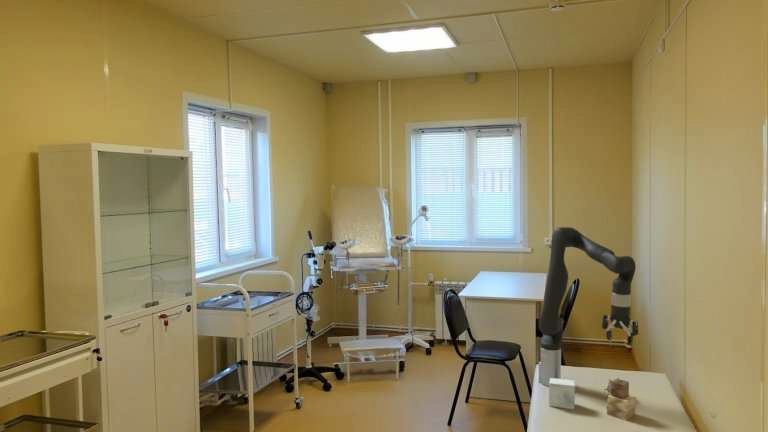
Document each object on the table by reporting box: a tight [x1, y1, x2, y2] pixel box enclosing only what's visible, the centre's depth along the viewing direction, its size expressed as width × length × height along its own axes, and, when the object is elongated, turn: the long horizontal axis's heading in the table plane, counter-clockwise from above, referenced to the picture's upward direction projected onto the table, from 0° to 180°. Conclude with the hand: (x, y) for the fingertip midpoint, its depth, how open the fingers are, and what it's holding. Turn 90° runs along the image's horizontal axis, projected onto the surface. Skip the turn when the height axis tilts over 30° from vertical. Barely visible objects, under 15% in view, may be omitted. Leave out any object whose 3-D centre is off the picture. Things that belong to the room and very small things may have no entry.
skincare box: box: [548, 378, 576, 410], centre depth 238 cm, size 10×6×10 cm, turn 70°
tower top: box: [606, 394, 637, 411], centre depth 227 cm, size 8×8×4 cm
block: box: [610, 378, 630, 399], centre depth 227 cm, size 5×5×6 cm
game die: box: [604, 377, 620, 395], centre depth 246 cm, size 9×8×10 cm
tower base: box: [606, 405, 636, 421], centre depth 228 cm, size 8×8×4 cm
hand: (619, 342), depth 232 cm, fingers open, 8 cm apart
